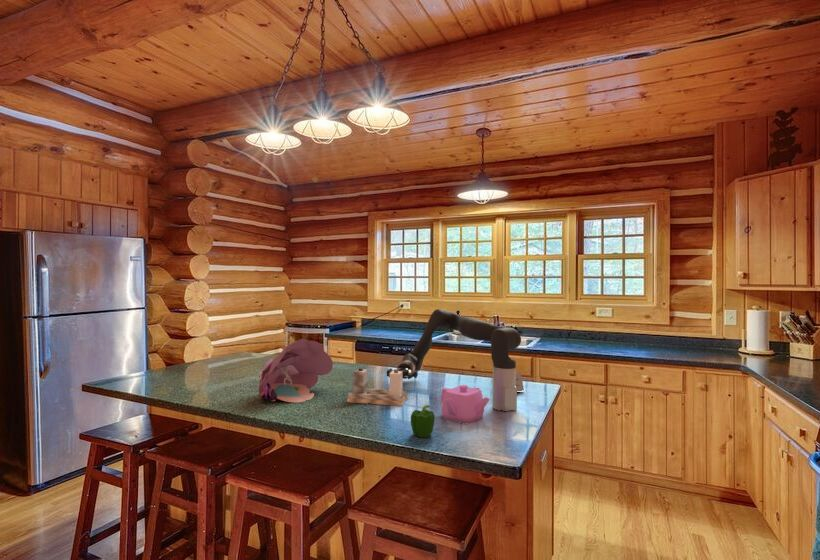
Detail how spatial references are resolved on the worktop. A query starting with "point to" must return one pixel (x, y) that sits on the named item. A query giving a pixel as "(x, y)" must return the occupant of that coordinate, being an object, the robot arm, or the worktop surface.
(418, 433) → the bell pepper
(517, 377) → the electrical switch
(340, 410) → the worktop surface
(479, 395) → the teakettle
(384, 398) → the rail plate
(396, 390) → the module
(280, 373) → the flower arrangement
